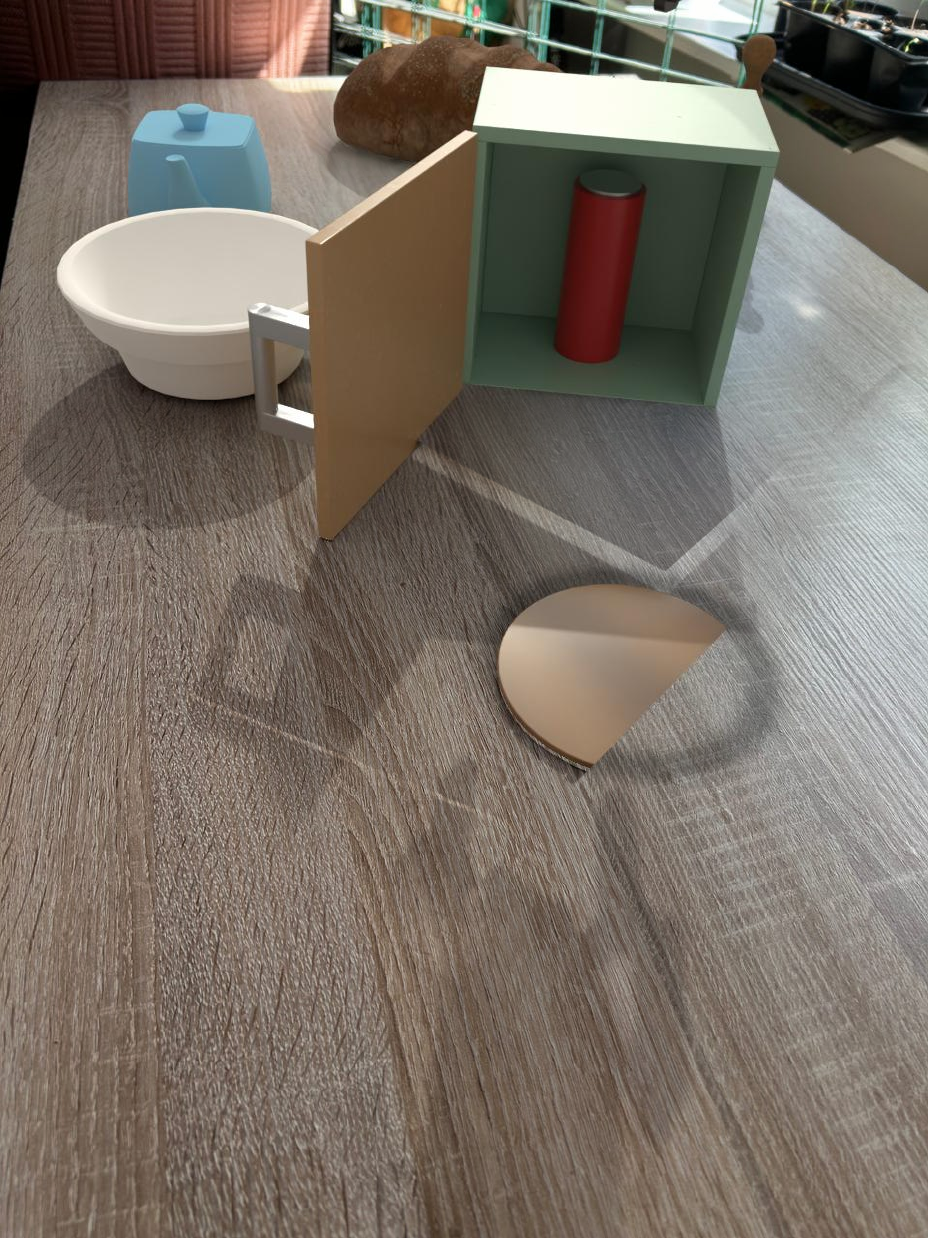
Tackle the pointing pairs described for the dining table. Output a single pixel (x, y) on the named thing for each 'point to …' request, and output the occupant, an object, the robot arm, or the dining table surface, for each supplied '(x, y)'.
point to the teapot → (197, 162)
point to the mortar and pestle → (757, 60)
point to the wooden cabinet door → (376, 329)
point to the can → (598, 264)
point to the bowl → (189, 294)
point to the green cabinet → (668, 240)
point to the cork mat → (597, 662)
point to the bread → (420, 94)
